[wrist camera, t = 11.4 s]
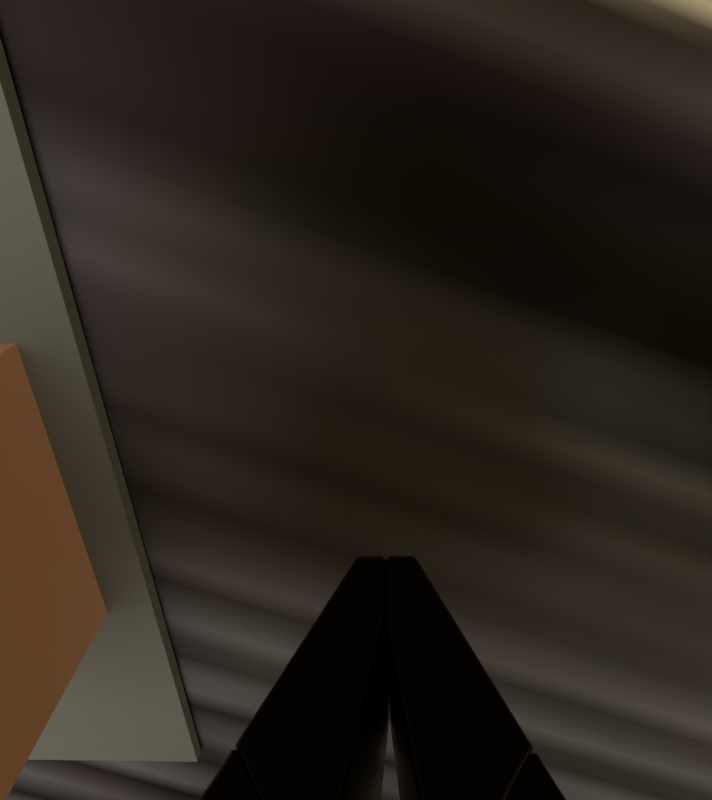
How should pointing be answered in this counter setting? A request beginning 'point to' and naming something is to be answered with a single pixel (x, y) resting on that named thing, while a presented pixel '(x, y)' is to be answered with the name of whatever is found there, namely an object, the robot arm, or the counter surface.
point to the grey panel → (85, 489)
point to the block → (36, 576)
